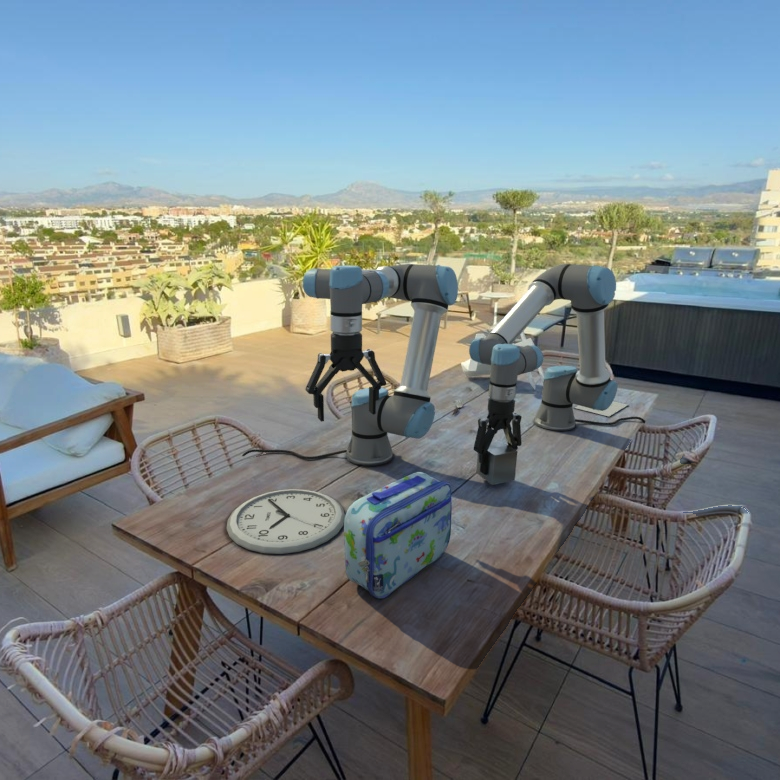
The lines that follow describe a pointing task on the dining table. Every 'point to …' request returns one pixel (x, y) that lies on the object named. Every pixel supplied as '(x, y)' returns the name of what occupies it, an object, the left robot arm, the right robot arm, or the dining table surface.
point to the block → (499, 463)
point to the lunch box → (397, 532)
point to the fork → (458, 407)
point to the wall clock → (285, 521)
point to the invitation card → (608, 412)
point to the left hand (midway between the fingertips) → (347, 416)
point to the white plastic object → (480, 369)
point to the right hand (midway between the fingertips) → (495, 470)
